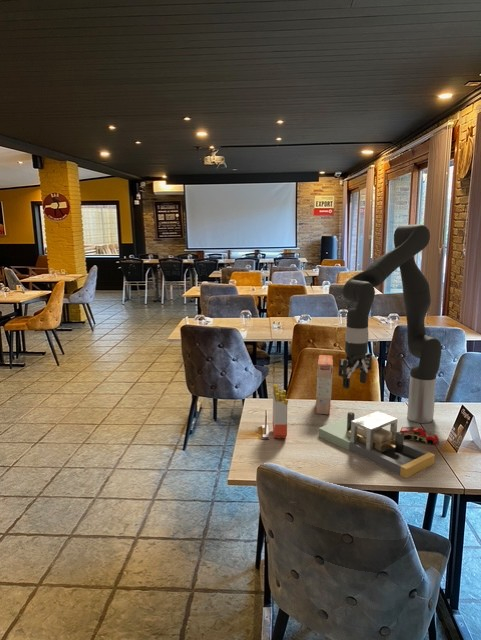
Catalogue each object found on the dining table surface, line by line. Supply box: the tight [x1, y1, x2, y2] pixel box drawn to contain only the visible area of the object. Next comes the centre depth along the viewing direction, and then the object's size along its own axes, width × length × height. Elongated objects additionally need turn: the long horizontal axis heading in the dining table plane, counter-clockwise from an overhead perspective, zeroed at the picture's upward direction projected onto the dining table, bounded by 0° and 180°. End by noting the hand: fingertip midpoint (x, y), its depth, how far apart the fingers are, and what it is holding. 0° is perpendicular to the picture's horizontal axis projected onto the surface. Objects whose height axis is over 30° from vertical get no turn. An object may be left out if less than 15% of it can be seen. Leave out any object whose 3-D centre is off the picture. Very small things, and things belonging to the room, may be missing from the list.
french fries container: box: [272, 383, 289, 439], centre depth 171 cm, size 5×11×18 cm, turn 1°
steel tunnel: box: [350, 410, 399, 451], centre depth 161 cm, size 14×8×8 cm, turn 127°
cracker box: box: [315, 354, 334, 416], centre depth 195 cm, size 14×6×21 cm, turn 168°
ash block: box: [357, 427, 392, 444], centre depth 161 cm, size 6×10×4 cm, turn 37°
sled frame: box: [346, 411, 405, 453], centre depth 161 cm, size 10×22×6 cm, turn 37°
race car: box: [399, 426, 440, 446], centre depth 169 cm, size 13×5×4 cm, turn 59°
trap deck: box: [318, 417, 436, 479], centre depth 162 cm, size 15×36×3 cm, turn 37°
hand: (354, 385), depth 165 cm, fingers open, 8 cm apart
